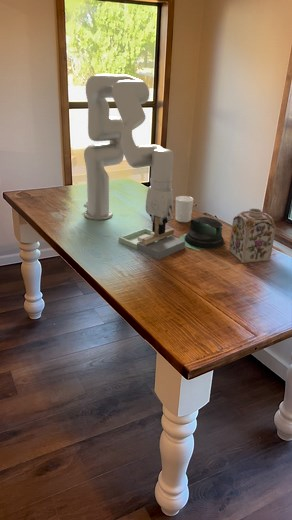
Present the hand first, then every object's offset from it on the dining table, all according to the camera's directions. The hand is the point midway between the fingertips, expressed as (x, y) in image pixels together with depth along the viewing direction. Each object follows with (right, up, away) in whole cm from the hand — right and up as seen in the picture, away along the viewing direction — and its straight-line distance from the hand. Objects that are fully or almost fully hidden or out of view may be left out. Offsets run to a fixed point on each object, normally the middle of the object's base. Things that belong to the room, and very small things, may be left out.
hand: (158, 232), depth 160 cm
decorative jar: (+34, -9, 0) cm, 35 cm away
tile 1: (-5, -3, +1) cm, 6 cm away
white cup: (+12, +7, +32) cm, 35 cm away
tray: (-7, -3, +8) cm, 11 cm away
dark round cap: (+18, -3, +11) cm, 22 cm away
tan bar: (0, -2, +1) cm, 3 cm away
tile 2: (0, -1, +6) cm, 6 cm away
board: (+1, -6, +2) cm, 7 cm away
